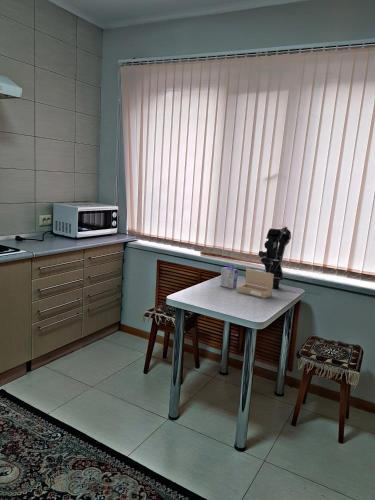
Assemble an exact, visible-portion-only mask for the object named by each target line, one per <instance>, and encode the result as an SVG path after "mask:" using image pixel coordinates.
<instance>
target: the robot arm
mask: <svg viewBox="0 0 375 500" xmlns="http://www.w3.org/2000/svg"><path fill="white" fill-rule="evenodd" d="M266 239H268V240H266V241H265V242H264V248H265V249H266V251H263V250H261V251H258V256H259V258H261V259H260V262H261V263H262V264H263V265H264V269H265V272H266V273H268V272H270V273H271V274H274V276H273V289H275V290H279V289H281V286H280V284H281V283H280V281H284V273H283V268H282V263H283V258H284V254H285V251H286V247H287V245H288V244H289V243H290V241H291V239H292V232H291V231H290V230H289V229H288V226H286V225H279V226H278V227H270V228H269V229H268V232H267V235H266Z"/></svg>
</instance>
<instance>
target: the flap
mask: <svg viewBox="0 0 375 500" xmlns="http://www.w3.org/2000/svg"><path fill="white" fill-rule="evenodd" d="M273 276H274V274H271V273H270V272H268V273H266V270H265V271H264V270H261V269H260V270H259V269H252V268H245V283H244V284H250V285H255V286H259V287H264V288H268V289H272V290H273V289H274V288H273Z"/></svg>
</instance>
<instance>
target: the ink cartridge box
mask: <svg viewBox="0 0 375 500" xmlns="http://www.w3.org/2000/svg"><path fill="white" fill-rule="evenodd" d="M234 266H235V265H234V264H230V263H229V264H228V265H227V266H226V267H225V266H224V267H221V272H220V280H219V281H220V282H219V286H220V287H226V288H228V289H235V288H237V287H238V285H237V284H238V275H239V269H238V268H234Z"/></svg>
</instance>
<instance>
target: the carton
mask: <svg viewBox="0 0 375 500" xmlns="http://www.w3.org/2000/svg"><path fill="white" fill-rule="evenodd" d="M237 287H238V289H237V293H239V294H240V293H241V294H244V295H247V296H252V297H256V298H260V299H264V300H265V299H268V298H271V297H272V295H273V294H272V293H273V289H271V288H266V287H262V286H258V285H253V284H249V283H244V284H241V285H238V286H237Z"/></svg>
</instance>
